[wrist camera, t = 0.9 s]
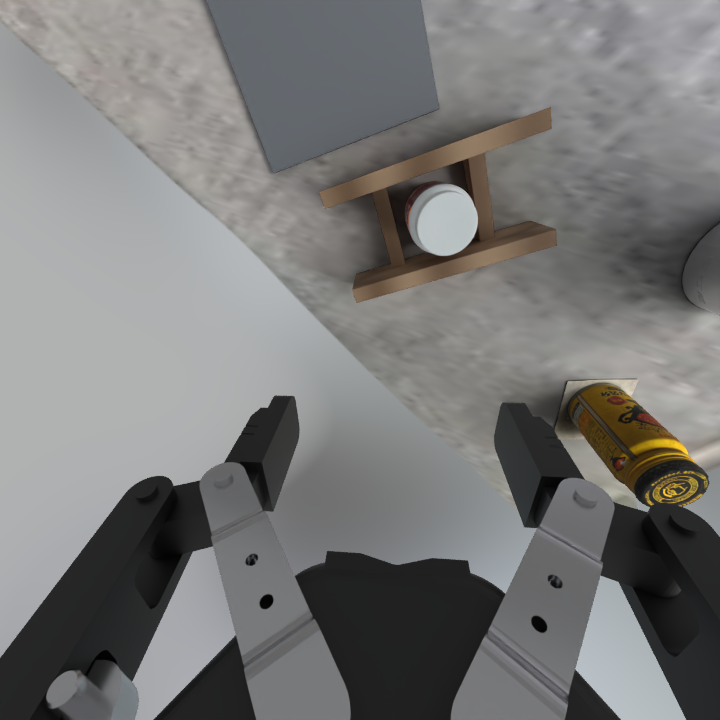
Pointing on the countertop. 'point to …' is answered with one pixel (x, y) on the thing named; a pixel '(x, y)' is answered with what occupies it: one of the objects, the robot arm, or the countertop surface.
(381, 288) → the wooden rack
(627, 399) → the condiment
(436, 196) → the pill bottle
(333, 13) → the mat
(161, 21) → the countertop surface
